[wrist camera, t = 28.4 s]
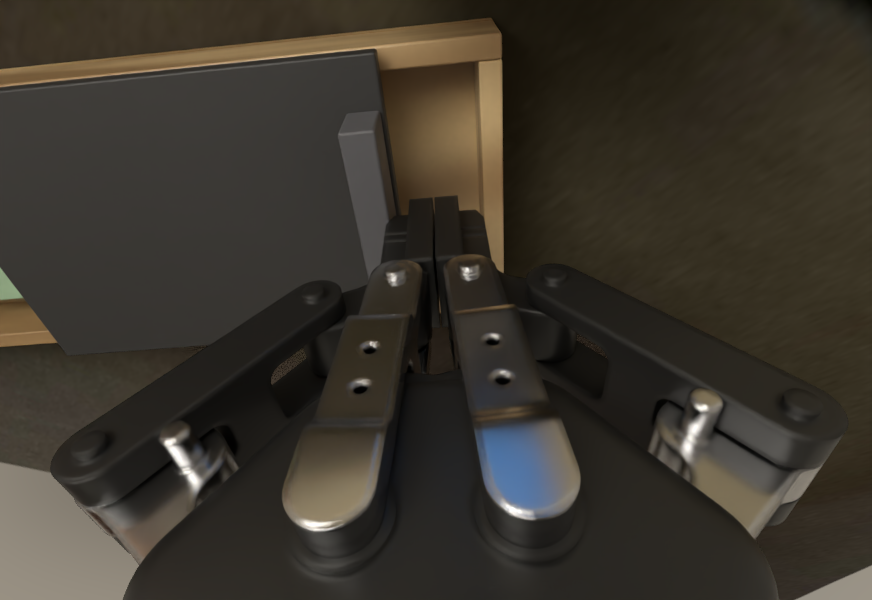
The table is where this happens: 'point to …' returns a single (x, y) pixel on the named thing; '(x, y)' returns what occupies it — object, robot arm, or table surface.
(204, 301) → the lid
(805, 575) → the table surface
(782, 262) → the table surface
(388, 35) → the case
